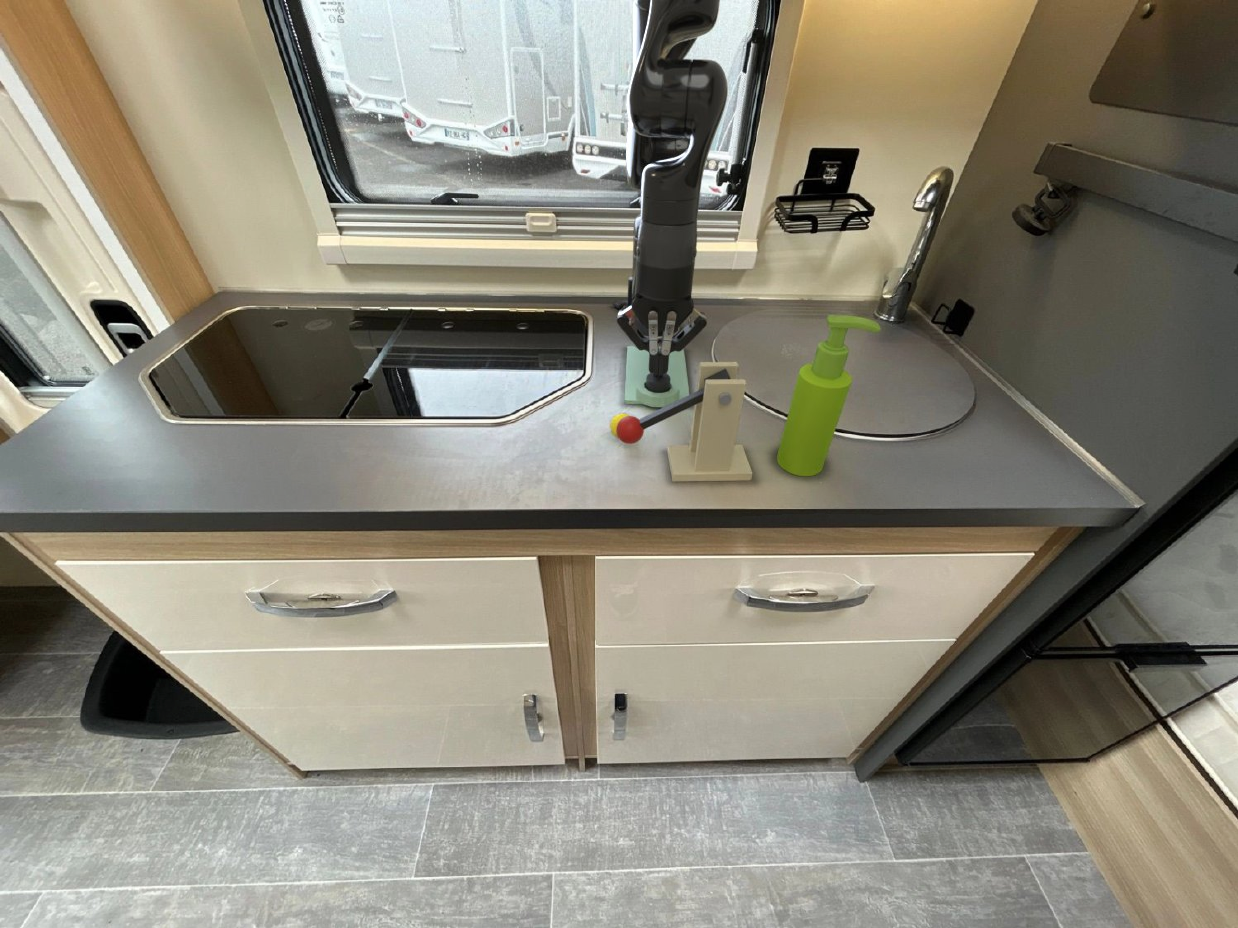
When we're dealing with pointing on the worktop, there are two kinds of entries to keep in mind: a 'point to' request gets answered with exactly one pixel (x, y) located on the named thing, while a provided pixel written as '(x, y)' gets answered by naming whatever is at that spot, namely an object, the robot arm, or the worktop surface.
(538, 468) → the worktop surface
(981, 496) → the worktop surface
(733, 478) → the bracket
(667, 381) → the button
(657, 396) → the button block
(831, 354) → the soap dispenser
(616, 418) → the yellow rounded piece
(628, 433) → the lever
